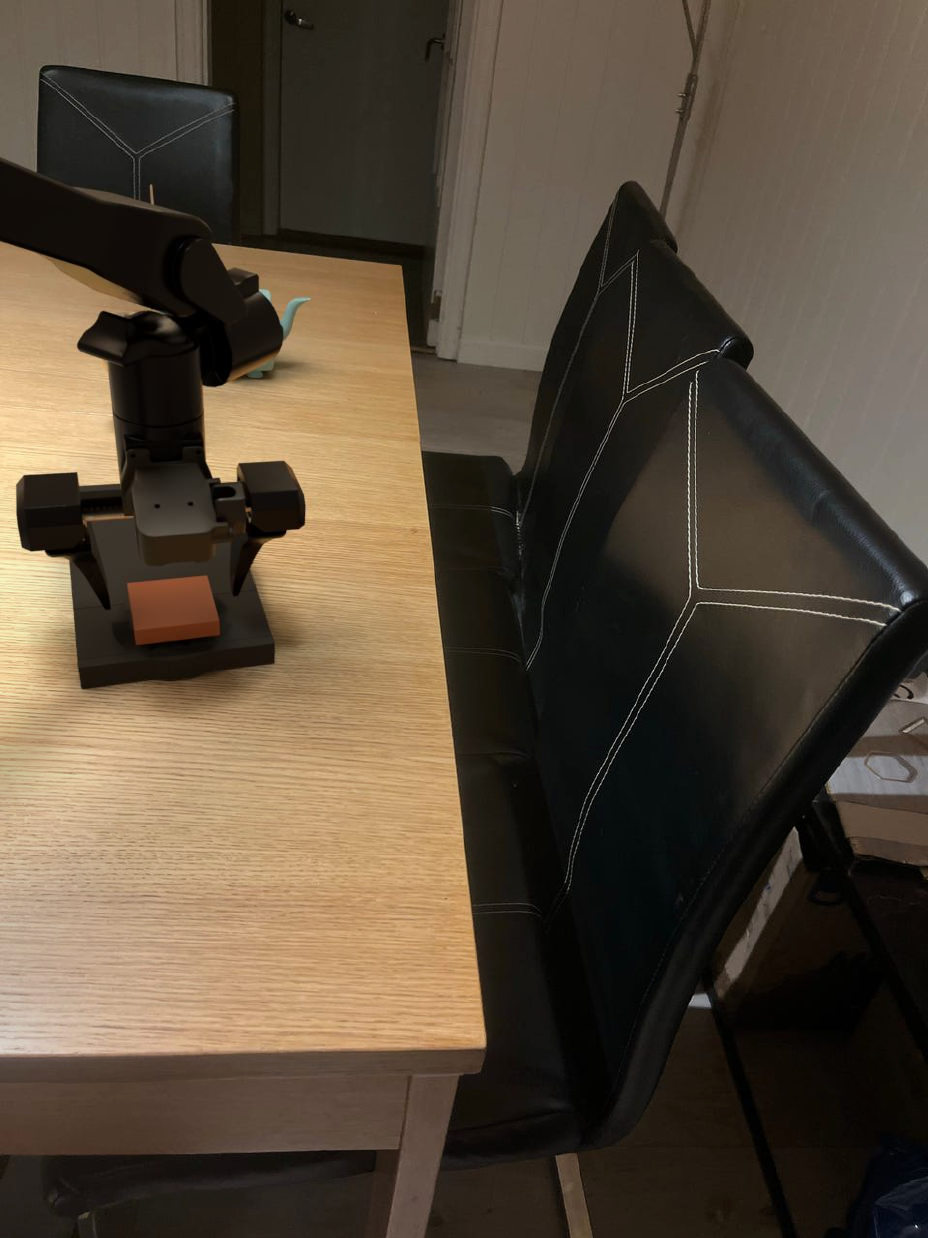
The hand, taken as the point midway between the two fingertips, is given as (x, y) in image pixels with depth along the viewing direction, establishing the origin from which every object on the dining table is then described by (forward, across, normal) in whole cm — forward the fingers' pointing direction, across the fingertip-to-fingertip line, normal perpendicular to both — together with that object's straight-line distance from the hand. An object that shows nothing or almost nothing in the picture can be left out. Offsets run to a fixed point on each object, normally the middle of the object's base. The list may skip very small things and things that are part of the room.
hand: (172, 599), depth 69 cm
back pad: (+4, 0, +9) cm, 10 cm away
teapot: (+4, +14, +54) cm, 56 cm away
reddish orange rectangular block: (+4, 0, 0) cm, 4 cm away
